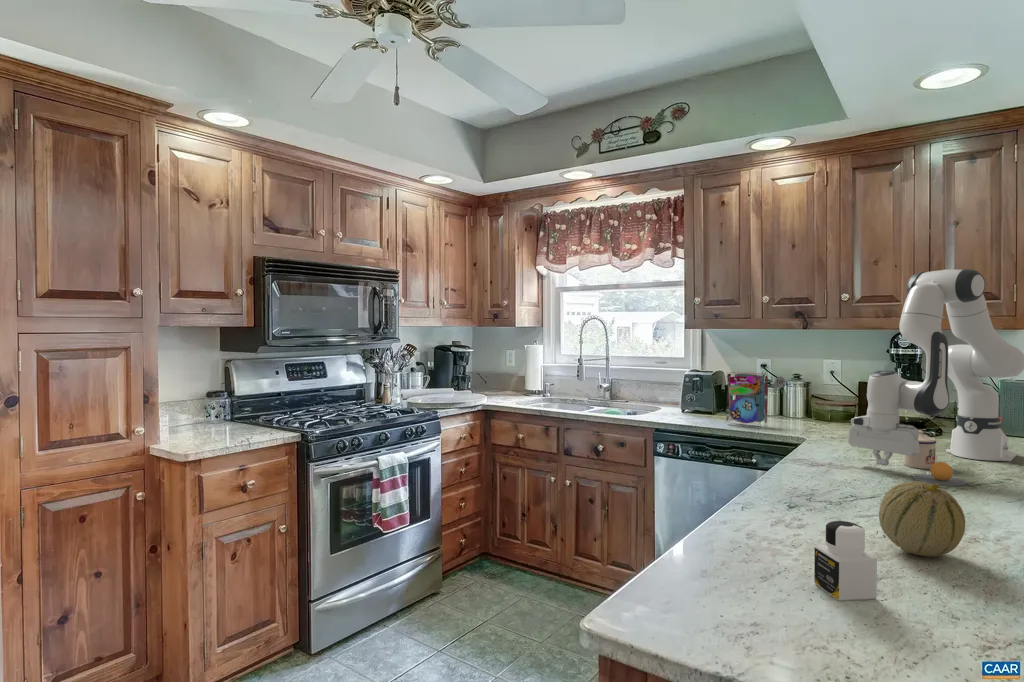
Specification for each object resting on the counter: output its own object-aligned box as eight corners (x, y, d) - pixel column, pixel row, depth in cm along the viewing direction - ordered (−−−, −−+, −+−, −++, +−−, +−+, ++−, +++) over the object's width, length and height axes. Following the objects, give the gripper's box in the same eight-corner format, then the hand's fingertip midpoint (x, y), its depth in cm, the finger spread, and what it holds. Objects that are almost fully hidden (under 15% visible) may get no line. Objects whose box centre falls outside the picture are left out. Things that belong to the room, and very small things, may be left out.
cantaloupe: (883, 535, 133) (884, 468, 133) (966, 551, 124) (967, 479, 124) (872, 556, 122) (873, 482, 122) (962, 574, 113) (963, 495, 112)
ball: (931, 473, 183) (937, 457, 182) (952, 481, 179) (958, 465, 178) (924, 477, 180) (930, 460, 178) (945, 486, 176) (951, 469, 174)
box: (786, 428, 267) (787, 374, 266) (782, 430, 262) (782, 375, 262) (730, 423, 283) (730, 371, 282) (725, 425, 278) (725, 372, 278)
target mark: (925, 472, 188) (925, 472, 188) (974, 481, 177) (974, 481, 177) (904, 478, 181) (904, 478, 181) (954, 488, 170) (954, 487, 170)
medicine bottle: (813, 583, 109) (813, 518, 109) (850, 581, 110) (851, 516, 110) (837, 601, 102) (838, 531, 102) (877, 599, 103) (878, 530, 103)
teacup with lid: (932, 470, 190) (932, 434, 190) (899, 466, 197) (899, 430, 197) (941, 464, 199) (941, 429, 198) (908, 460, 205) (909, 426, 205)
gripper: (923, 425, 185) (923, 469, 186) (856, 416, 202) (855, 457, 203) (913, 427, 182) (913, 472, 182) (845, 418, 199) (845, 460, 199)
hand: (882, 464), depth 193 cm, fingers closed
